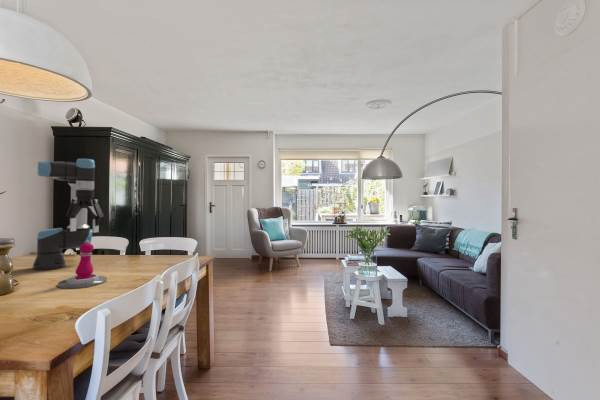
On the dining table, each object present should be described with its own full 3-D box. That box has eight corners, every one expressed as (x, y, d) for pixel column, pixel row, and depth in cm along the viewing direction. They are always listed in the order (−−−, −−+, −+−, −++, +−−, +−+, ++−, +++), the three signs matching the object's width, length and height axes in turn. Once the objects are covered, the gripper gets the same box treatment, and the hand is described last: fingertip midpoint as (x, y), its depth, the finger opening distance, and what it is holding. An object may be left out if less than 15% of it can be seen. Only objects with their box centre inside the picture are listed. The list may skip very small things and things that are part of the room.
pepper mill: (96, 279, 152) (99, 240, 153) (82, 281, 145) (86, 240, 146) (84, 278, 153) (87, 239, 155) (71, 280, 146) (74, 240, 148)
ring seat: (62, 280, 153) (62, 274, 153) (108, 276, 162) (108, 270, 162) (52, 290, 135) (52, 284, 135) (105, 285, 145) (105, 279, 145)
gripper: (57, 188, 147) (56, 231, 148) (99, 189, 143) (98, 233, 143) (71, 189, 155) (70, 229, 155) (112, 190, 150) (111, 232, 150)
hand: (84, 231), depth 149 cm, fingers open, 13 cm apart
